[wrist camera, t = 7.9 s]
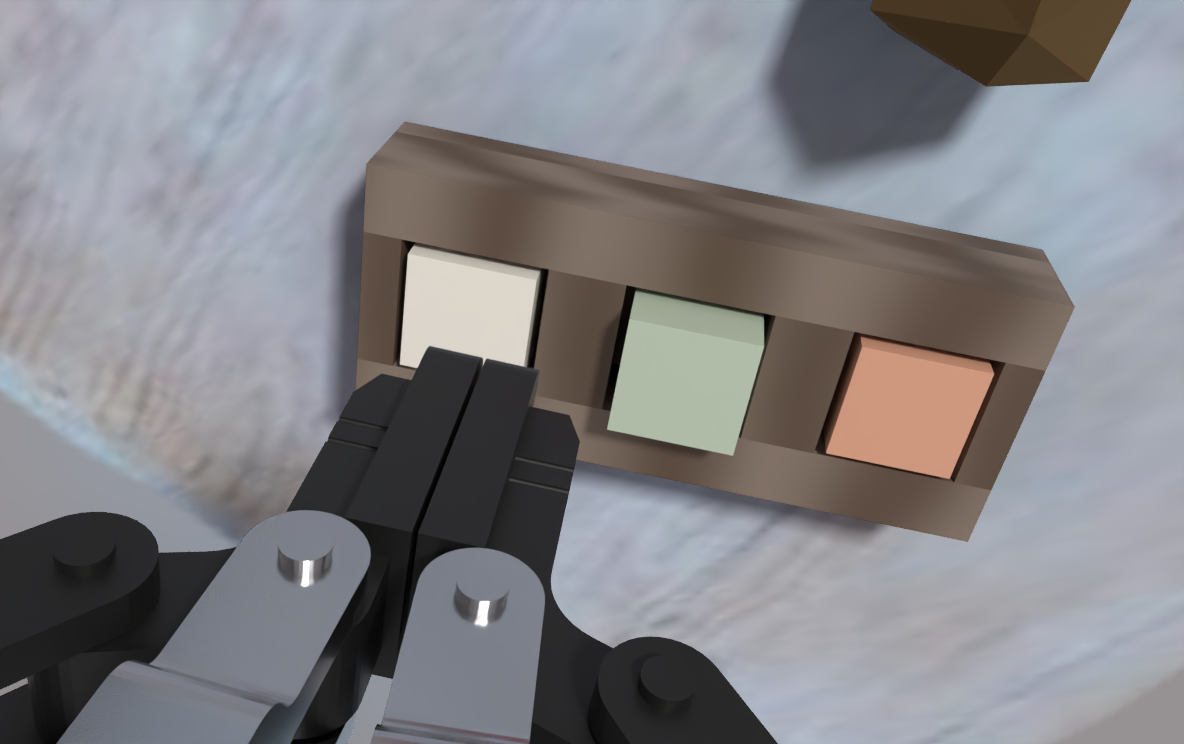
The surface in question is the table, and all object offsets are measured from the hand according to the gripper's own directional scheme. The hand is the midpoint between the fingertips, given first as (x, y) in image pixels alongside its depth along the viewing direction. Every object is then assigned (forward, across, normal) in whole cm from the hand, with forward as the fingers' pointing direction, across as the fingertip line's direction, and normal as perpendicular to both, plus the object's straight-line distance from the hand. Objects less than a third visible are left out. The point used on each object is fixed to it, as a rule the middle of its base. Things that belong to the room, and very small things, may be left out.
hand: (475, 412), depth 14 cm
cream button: (+20, +3, +9) cm, 22 cm away
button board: (+21, -4, +9) cm, 23 cm away
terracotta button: (+20, -11, +9) cm, 24 cm away
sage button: (+19, -4, +9) cm, 21 cm away
